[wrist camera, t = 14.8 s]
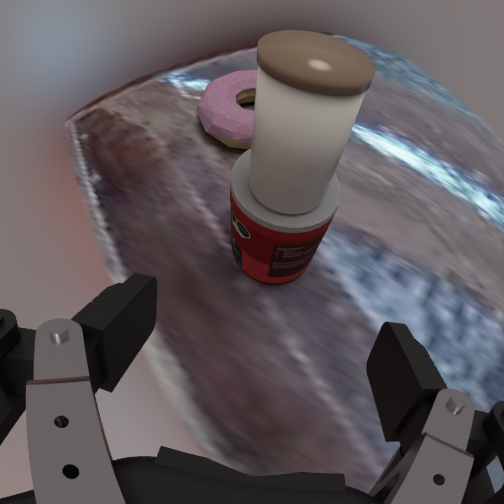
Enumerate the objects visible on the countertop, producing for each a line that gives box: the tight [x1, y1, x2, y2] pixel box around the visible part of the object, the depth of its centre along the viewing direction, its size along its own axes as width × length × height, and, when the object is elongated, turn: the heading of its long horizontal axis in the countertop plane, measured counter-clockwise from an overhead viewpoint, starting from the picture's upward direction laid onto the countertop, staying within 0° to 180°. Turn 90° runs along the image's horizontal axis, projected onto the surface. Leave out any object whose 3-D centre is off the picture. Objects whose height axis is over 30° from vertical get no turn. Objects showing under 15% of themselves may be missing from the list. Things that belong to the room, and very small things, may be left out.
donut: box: [197, 70, 258, 150], centre depth 37 cm, size 16×15×5 cm
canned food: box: [230, 149, 340, 284], centre depth 26 cm, size 8×8×11 cm
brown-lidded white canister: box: [249, 30, 375, 214], centre depth 16 cm, size 6×6×10 cm
